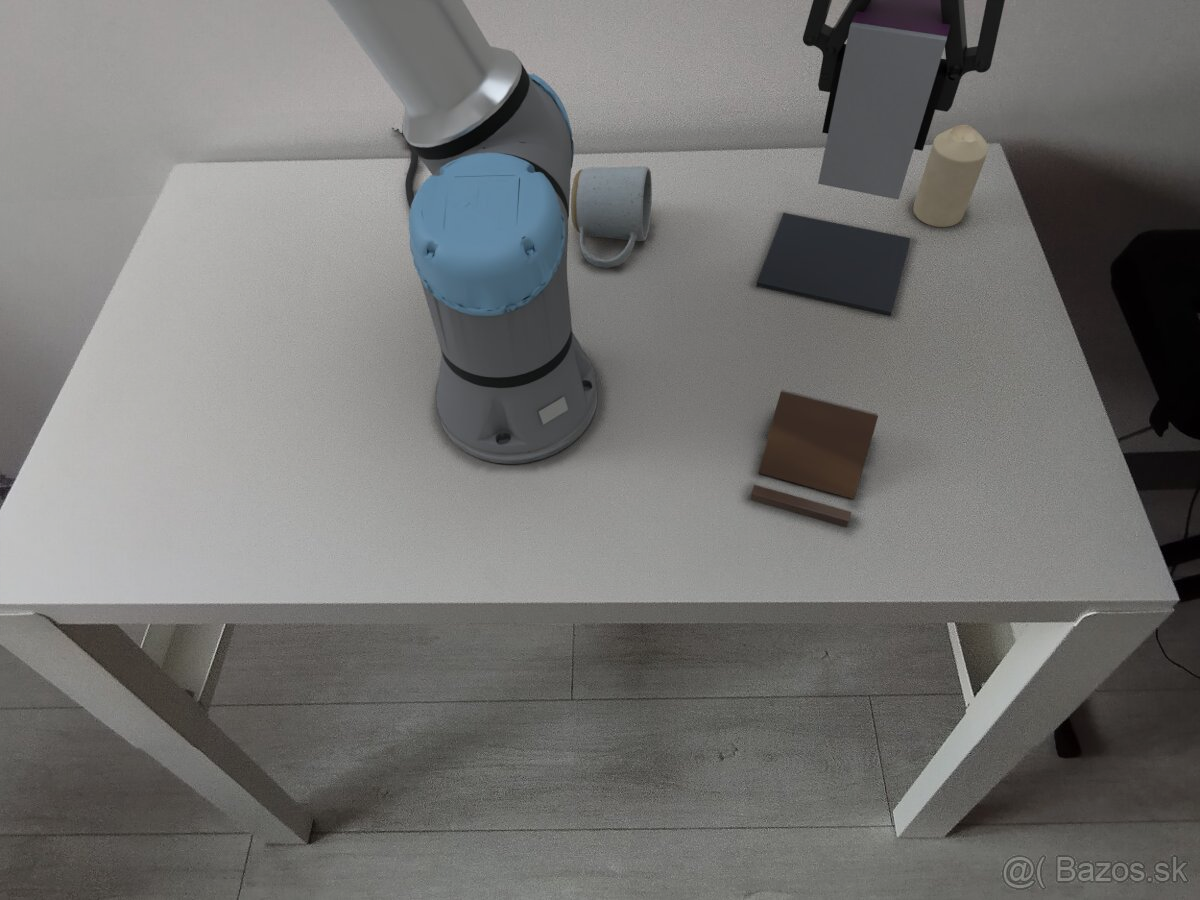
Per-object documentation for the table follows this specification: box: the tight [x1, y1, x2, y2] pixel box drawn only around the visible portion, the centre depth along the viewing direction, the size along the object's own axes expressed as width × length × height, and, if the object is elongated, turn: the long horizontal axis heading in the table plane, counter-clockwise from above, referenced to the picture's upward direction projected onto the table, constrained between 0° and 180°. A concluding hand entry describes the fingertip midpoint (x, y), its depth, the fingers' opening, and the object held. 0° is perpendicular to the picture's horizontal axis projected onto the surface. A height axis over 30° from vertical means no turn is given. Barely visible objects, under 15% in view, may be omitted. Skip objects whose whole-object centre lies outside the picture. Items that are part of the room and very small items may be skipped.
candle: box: [912, 124, 990, 228], centre depth 91 cm, size 6×6×10 cm
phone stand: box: [749, 389, 879, 528], centre depth 73 cm, size 10×8×7 cm
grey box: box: [817, 0, 950, 200], centre depth 70 cm, size 14×7×14 cm
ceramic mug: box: [570, 166, 653, 268], centre depth 91 cm, size 11×8×8 cm
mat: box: [756, 212, 911, 316], centre depth 90 cm, size 14×12×1 cm
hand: (874, 132), depth 73 cm, fingers closed on grey box, 7 cm apart
